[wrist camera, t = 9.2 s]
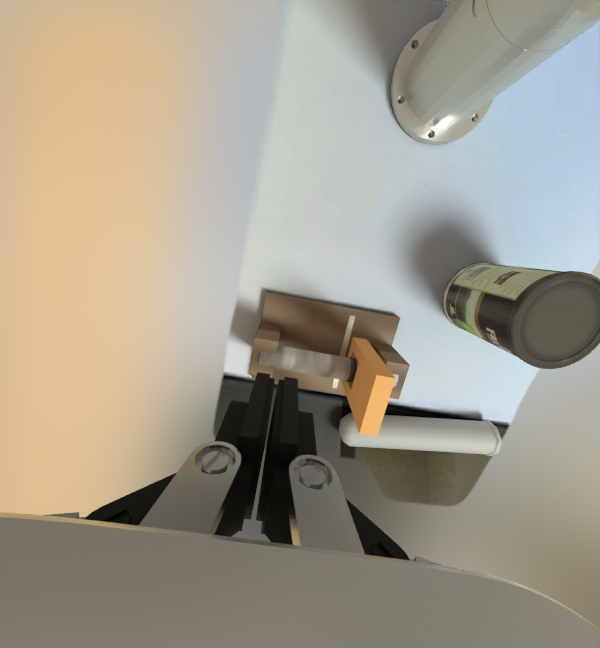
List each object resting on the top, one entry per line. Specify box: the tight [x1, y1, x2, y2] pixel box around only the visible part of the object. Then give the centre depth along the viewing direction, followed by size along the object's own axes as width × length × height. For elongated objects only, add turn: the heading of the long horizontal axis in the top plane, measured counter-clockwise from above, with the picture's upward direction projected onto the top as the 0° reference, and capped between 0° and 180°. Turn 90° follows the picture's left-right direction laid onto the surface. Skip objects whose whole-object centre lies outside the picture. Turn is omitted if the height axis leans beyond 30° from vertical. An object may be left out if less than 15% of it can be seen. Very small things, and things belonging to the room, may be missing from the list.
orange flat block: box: [342, 337, 396, 436], centre depth 35 cm, size 7×2×12 cm, turn 169°
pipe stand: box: [249, 291, 410, 399], centre depth 40 cm, size 14×20×9 cm
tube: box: [339, 413, 502, 456], centre depth 46 cm, size 5×5×25 cm
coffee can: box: [443, 263, 600, 369], centre depth 35 cm, size 10×10×14 cm
